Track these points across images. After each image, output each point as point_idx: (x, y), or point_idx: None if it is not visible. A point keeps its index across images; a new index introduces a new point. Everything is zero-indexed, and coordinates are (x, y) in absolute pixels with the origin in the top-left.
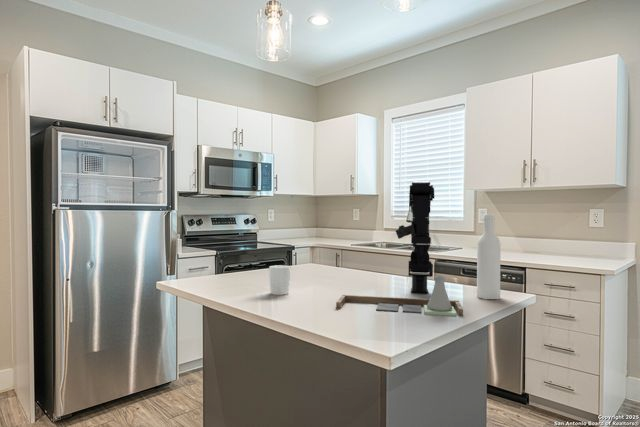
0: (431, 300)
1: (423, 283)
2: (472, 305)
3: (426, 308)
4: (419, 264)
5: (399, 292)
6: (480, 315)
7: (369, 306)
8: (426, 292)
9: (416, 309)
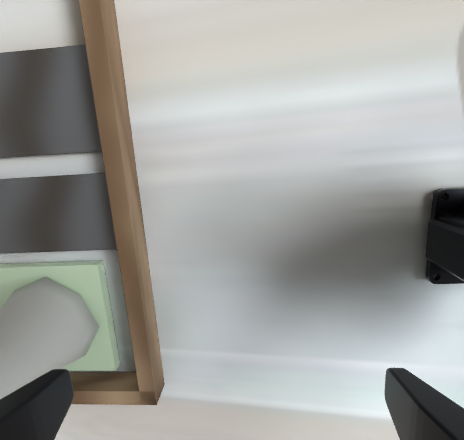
0: (3, 311)
1: (460, 278)
2: (211, 430)
3: (36, 274)
4: (56, 371)
5: (441, 121)
6: (63, 432)
7: (19, 7)
8: (427, 273)
9: (27, 234)
